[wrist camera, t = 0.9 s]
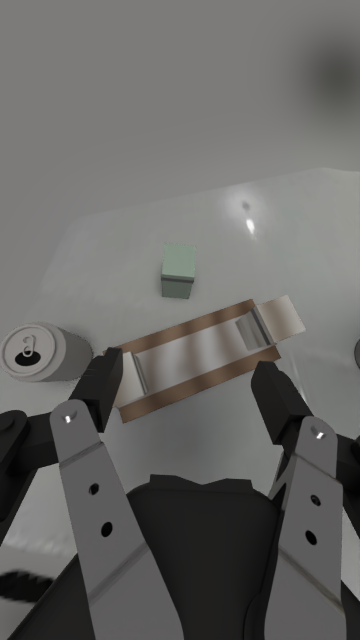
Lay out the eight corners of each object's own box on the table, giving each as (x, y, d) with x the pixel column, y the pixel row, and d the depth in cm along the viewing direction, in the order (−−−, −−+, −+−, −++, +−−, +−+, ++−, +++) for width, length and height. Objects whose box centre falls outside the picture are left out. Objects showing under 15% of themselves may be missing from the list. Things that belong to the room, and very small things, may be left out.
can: (45, 381, 34) (-16, 384, 22) (51, 337, 36) (-3, 318, 24) (92, 379, 34) (55, 381, 23) (95, 336, 36) (62, 317, 25)
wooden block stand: (249, 300, 40) (279, 274, 30) (277, 358, 38) (321, 351, 27) (104, 352, 36) (78, 342, 25) (124, 422, 33) (105, 443, 22)
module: (190, 273, 41) (196, 246, 32) (188, 299, 40) (194, 277, 31) (164, 270, 41) (164, 242, 32) (162, 296, 39) (161, 274, 31)
